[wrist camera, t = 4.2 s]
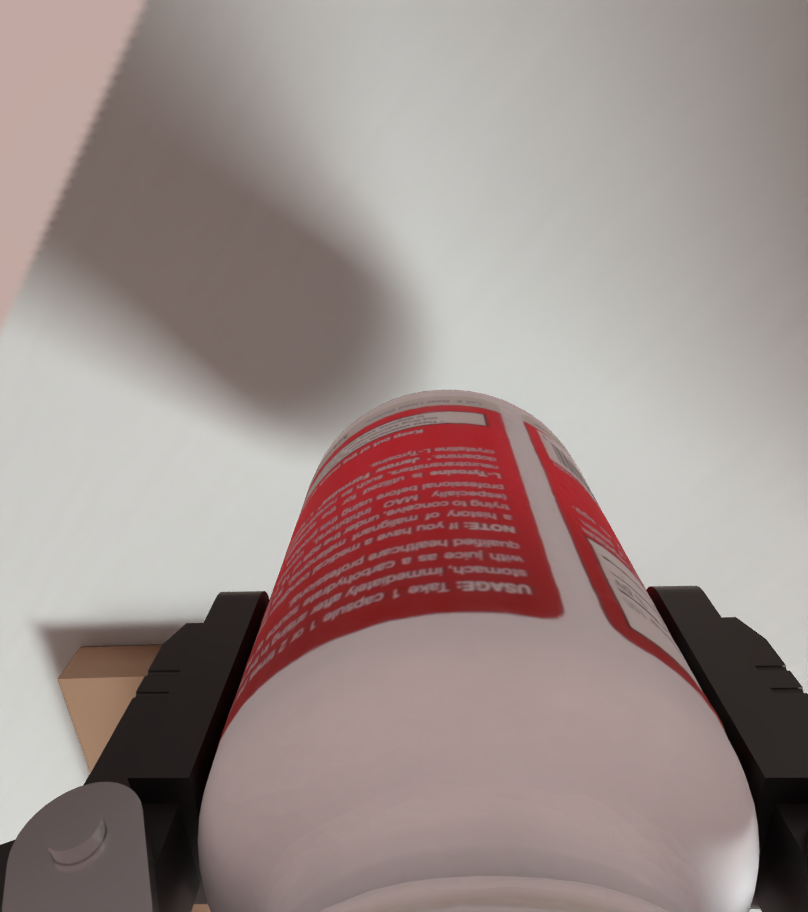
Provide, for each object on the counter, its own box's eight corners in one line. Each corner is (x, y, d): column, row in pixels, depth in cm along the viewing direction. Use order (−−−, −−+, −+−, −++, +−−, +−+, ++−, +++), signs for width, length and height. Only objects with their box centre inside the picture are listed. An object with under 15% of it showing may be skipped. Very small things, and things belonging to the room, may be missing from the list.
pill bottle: (274, 564, 15) (-34, 1360, 5) (373, 334, 13) (174, 936, 3) (503, 651, 16) (647, 1478, 6) (634, 450, 14) (1263, 1244, 3)
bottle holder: (663, 628, 21) (725, 737, 17) (623, 890, 27) (662, 1019, 22) (80, 647, 21) (2, 757, 17) (162, 900, 27) (118, 1029, 23)
